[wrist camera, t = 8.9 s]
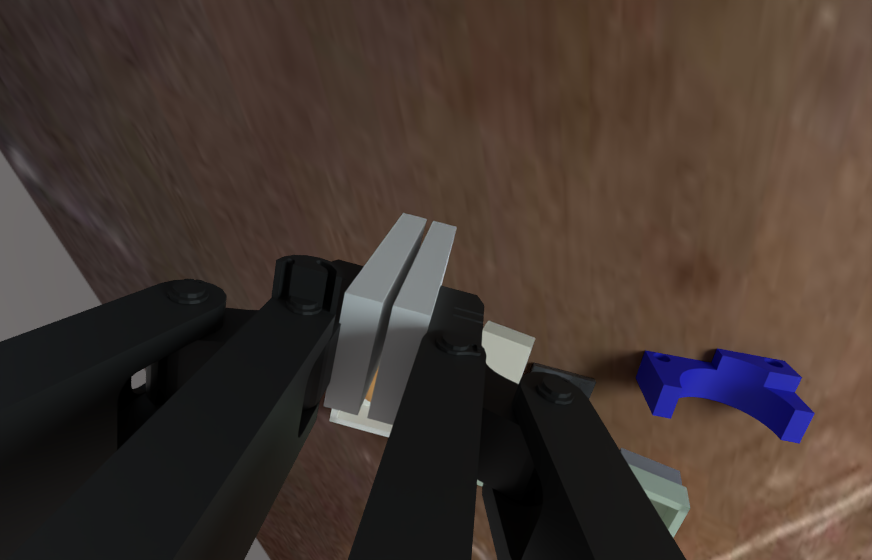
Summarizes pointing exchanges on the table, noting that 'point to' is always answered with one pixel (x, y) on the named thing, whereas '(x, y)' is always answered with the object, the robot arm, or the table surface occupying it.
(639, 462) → the lever
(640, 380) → the cable clip
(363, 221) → the table surface
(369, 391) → the ball
